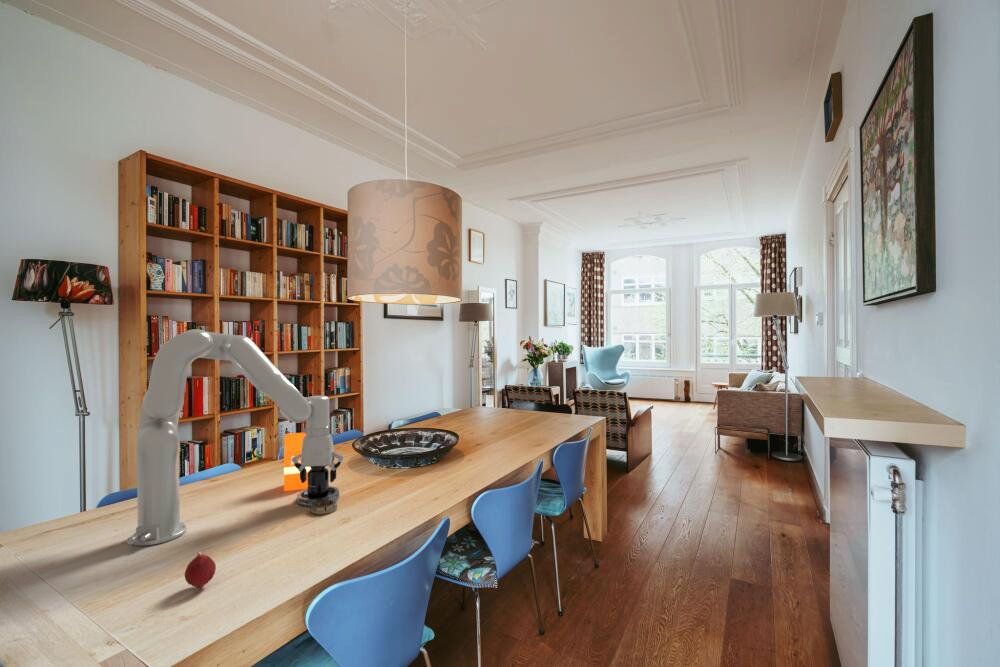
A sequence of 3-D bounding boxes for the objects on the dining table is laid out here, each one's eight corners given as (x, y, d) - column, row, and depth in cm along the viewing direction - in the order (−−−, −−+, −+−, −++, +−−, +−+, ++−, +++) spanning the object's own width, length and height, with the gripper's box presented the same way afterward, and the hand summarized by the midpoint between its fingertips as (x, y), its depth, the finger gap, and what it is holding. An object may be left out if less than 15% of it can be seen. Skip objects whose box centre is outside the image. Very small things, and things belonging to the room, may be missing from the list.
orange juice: (310, 488, 166) (309, 434, 166) (283, 491, 163) (283, 436, 163) (310, 481, 174) (310, 429, 174) (285, 484, 170) (285, 431, 170)
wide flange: (332, 506, 149) (332, 499, 149) (290, 507, 148) (290, 500, 148) (343, 491, 163) (343, 485, 163) (305, 492, 162) (305, 486, 162)
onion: (221, 580, 105) (220, 545, 105) (205, 594, 99) (205, 558, 99) (195, 580, 105) (195, 546, 105) (178, 595, 99) (178, 558, 99)
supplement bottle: (306, 500, 151) (305, 465, 151) (309, 493, 158) (308, 459, 158) (327, 498, 153) (327, 463, 153) (329, 491, 159) (329, 458, 159)
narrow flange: (333, 514, 142) (333, 507, 142) (307, 515, 141) (306, 508, 141) (340, 504, 150) (340, 498, 150) (315, 505, 149) (315, 499, 149)
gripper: (287, 434, 151) (288, 485, 151) (340, 433, 152) (340, 484, 152) (296, 430, 158) (296, 478, 158) (346, 429, 160) (346, 477, 160)
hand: (318, 481), depth 155 cm, fingers open, 9 cm apart
